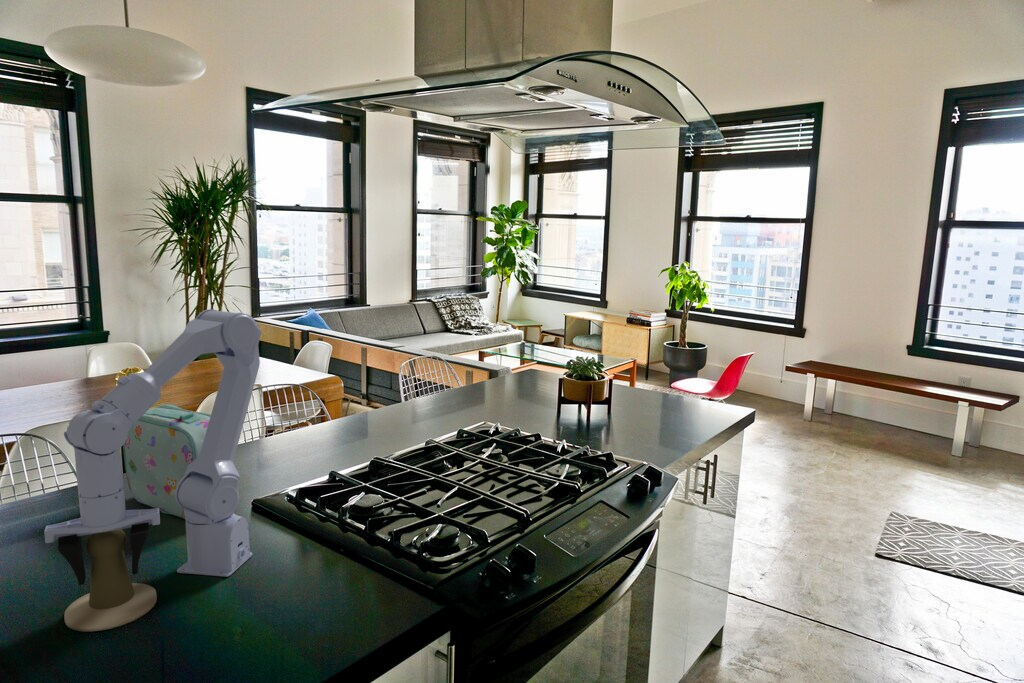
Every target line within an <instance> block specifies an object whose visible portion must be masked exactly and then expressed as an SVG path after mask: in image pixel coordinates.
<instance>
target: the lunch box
mask: <svg viewBox="0 0 1024 683" xmlns="http://www.w3.org/2000/svg"><path fill="white" fill-rule="evenodd" d="M210 417H211V413H206V412H200V411H193V410H188V409H184V408H181V407H178V406H176V405H173V404H160V405H158V406H155V407H153V408H152V407H151V408H150V409H149V410H148V411H147V412H146V413H145V414H144V415H143V416H141V417H140V418H139V419H138V420H137V421H136V422H135V423H134V424H133V425H132V427H131V428H130V429H129V431H128V436H127V439H126V441H125V443H124V445H123V446H122V449H123V459H124V469H125V473H126V481H127V484H128V486H127V487H128V489H129V491H130V494H131V495H132V496H133V498H134V499H135V500H136V501H137V502H139V503H140V504H144V505H147V506H149V507H151V508H152V509H155V508H159V512H161V513H162V514H165V515H173V516H176V517H178V518H181V519H184V520H185V515H184V508H183V507H181V506H180V505H179V504H178V503H177V501H176V499H175V490H176V487H177V485H178V483H179V482H180V480H181V479H182V478H183V476H184V475H185V473H186V470H187V466H188V465H189V464H190V463H191V462H193V461H194V460H195V459H197V458H198V457H199V456H200V452H201V449H202V445H203V442H204V438H205V434H206V431H207V427H208V424H209V420H210Z"/></svg>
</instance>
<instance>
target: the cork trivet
mask: <svg viewBox="0 0 1024 683" xmlns="http://www.w3.org/2000/svg"><path fill="white" fill-rule="evenodd" d="M132 585H133V589H134V596H133V597H132V599H130V600H129V601H128V602H126V603H124V604H122V605H119V606H117V607H113V608H109V609H94V608H91V607H90V606H89V595H90V592H89V593H86V594H84V595H83V596H80V597H79V598H77V599H75V600H74V601H73V602H72V603H70V605H68V606H67V608H66V609H65V611H64V613H63V615H64V616H63V617H64V623H65V625H66V626H67V627H68V629H71V630H73V631H77V632H99V631H105V630H106V631H107V630H110V629H114V628H117V627H122V626H125V625H127V624H129V623H131V622H134V621H136V620H138V619H139V618H141V617H143V616H144V615H146V614H147V613H149V612H150V611H151V610H152V608H154V607H155V605H156V603H157V599H158V597H157V596H158V595H157V590H156V588H154V587H153V586H151V585H149V584H145V583H139V582H132Z"/></svg>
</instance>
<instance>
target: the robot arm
mask: <svg viewBox="0 0 1024 683" xmlns="http://www.w3.org/2000/svg"><path fill="white" fill-rule="evenodd" d="M184 328H185V329H184V330H183V332H182V333H181V334H180V335H179V336H178V337H177V338H176V339H175V340H174V341H173V342H172V343H171V344H170V345H169V346H168V347H167V348H166V349H165V350H163V352H162V353H161V354H159V356H158V357H157V358H156V359H155V360H154V361H153V362H152V363H151V364H150V365H149V366H148V367H146V369H145V370H144V371H143V372H131V373H129V374H128V375H126V376H125V375H121V376H120V377H119V378H118V379H117V380H116V383H117V385H115V386H114V387H113V388H112V389H111V390H110V391H109V392H108V393H106V394H105V395H104V396H103V397H102V398H101V399H100V400H95V401H94V402H93V403H92V404H91V405H90V406H91V409H86V410H85V411H84V410H83V411H80V412H78V413H77V414H76V415H74V416H73V417H72V418H70V421H69V423H68V426H67V428H66V431H64V432H63V438H65V441H66V442H67V444H69V445H70V446H71V447H73V450H74V451H73V452H74V459H75V472H76V474H75V475H76V483H77V492H78V494H77V496H78V505H79V512H80V517H79V518H74V519H70V520H67V521H64V522H60V523H59V522H58V523H54V524H48V525H45V528H44V532H43V533H44V542H45V544H50V543H54V542H56V541H57V551H58V553H59V554H61V556H63V558H64V559H65V560H66V561H67V563H68V564H69V565H70V568H71V569H72V571H73V572H74V575H75V576H76V579H77V582H78V586H82V585H85V583H86V578H87V576H86V575H87V574H86V567H85V560H84V557H83V556H84V555H83V539H82V538H83V537H82V536H87V535H91V534H94V533H100V532H106V531H112V530H118V529H122V530H124V529H130V530H129V541H130V549H131V574H132V575H138V574H139V562H140V559H141V554H142V551H143V548H144V546H145V542H147V538H148V536H149V533H150V525H151V526H157V525H160V524H161V516H160V510H159V508H150V509H148V508H147V509H127V510H126V500H125V499H126V498H125V487H124V486H125V485H124V478H123V477H124V476H123V475H124V474H123V464H122V463H123V462H122V456H121V448H122V447H123V445H124V443H125V441H126V439H127V436H128V431H129V429H130V428H131V427H132V425H133V424H134V423H135V422H136V421H137V420H138V419H139V418H140V417H141V416H143V415H144V414H145V413H146V412H147V411H148V410H149V409H152V407H153V406H155V404H156V403H158V401H160V399H161V397H162V388H163V386H165V385H166V384H167V383H168V382H170V381H171V380H172V379H173V378H174V377H175V376H176V375H178V374H179V373H180V372H181V371H182V370H184V369H185V368H186V367H187V366H188V365H190V364H191V363H192V362H193V361H194V360H195V359H197V358H198V357H199V356H202V355H205V354H214V355H215V356H216V358H217V359H218V360H219V362H220V364H221V365H222V367H223V371H222V374H221V375H222V376H221V379H220V382H219V385H218V389H217V392H216V396H215V399H214V404H213V407H212V410H211V413H210V415H211V417H210V420H209V424H208V427H207V431H206V434H205V438H204V442H203V445H202V449H201V452H200V456H199V457H198V458H197V459H195V460H194V461H193V462H191V463H190V464H189V465H188V466H187V470H186V473H185V475H184V476H183V478H182V479H181V480H180V482H179V483H178V485H177V487H176V490H175V499H176V501H177V503H178V504H179V505H180V506H181V507H183V508H184V515H185V519H184V520H185V533H186V534H185V535H186V537H185V538H186V549H187V550H186V551H187V561H186V562H185V563H183V564H182V565H181V566H180V567H178V568H177V569H176V572H177V573H179V574H189V575H190V574H191V575H200V576H201V575H203V576H213V577H214V576H216V577H227V578H228V577H230V576H231V575H233V574H234V572H236V571H237V570H238V569H239V568H240V567H241V566H242V565H243V564H245V562H246V561H248V560H249V559H250V558H251V557H252V556H253V552H251V550H250V548H251V547H250V546H251V545H250V532H249V523H248V519H247V518H246V517H244V516H241V515H238V514H236V513H234V512H235V510H236V508H237V507H238V505H239V501H240V492H239V484H240V480H241V475H240V473H239V471H238V470H237V468H236V466H235V463H234V460H235V456H236V452H237V449H238V445H239V441H240V438H241V436H242V435H241V434H242V432H243V426H244V424H245V420H246V416H247V413H248V409H249V406H250V401H251V398H252V395H253V391H254V387H255V383H256V379H257V376H258V372H259V368H260V364H261V363H260V362H261V361H260V352H259V343H260V339H261V335H262V330H261V328H260V326H259V325H258V324H257V322H256V320H255V319H254V317H252V316H251V315H250V314H248V313H245V312H231V311H223V310H222V311H221V310H217V309H214V308H213V309H212V308H209V309H204V310H202V311H201V312H200V313H198V315H196V317H195V318H193V319H192V320H189V321H188V322H187V324H186V325H185V327H184Z"/></svg>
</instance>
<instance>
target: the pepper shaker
mask: <svg viewBox="0 0 1024 683" xmlns="http://www.w3.org/2000/svg"><path fill="white" fill-rule="evenodd" d="M126 545H127V534H126V532H125V531H124V529H118V530H112V531H106V532H100V533H94V534H89V536H88V538H87V541H86V550H87V552H88V553H89V555H90V556H91V565H90V566H91V567H90V581H89V593H90V595H89V606H90V607H91V608H94V609H109V608H113V607H117V606H119V605H122V604H124V603H126V602H128V601H129V600H130V599H132V597H133V596H134V589H133V585H132V583H133V581H132V579H131V577H132V576H131V575H130V569H129V566H128V563H127V559H126V555H125V550H124V549H125V547H126Z"/></svg>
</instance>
